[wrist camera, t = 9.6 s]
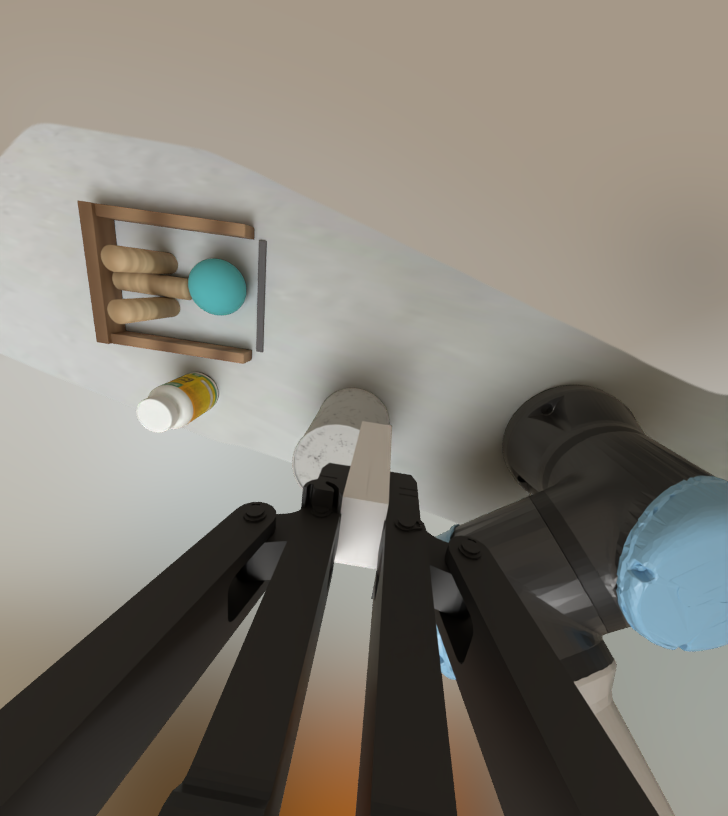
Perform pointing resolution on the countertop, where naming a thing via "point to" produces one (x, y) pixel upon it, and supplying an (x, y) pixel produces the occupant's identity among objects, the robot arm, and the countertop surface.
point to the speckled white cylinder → (335, 432)
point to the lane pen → (102, 290)
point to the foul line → (261, 295)
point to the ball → (217, 286)
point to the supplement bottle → (177, 402)
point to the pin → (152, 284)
